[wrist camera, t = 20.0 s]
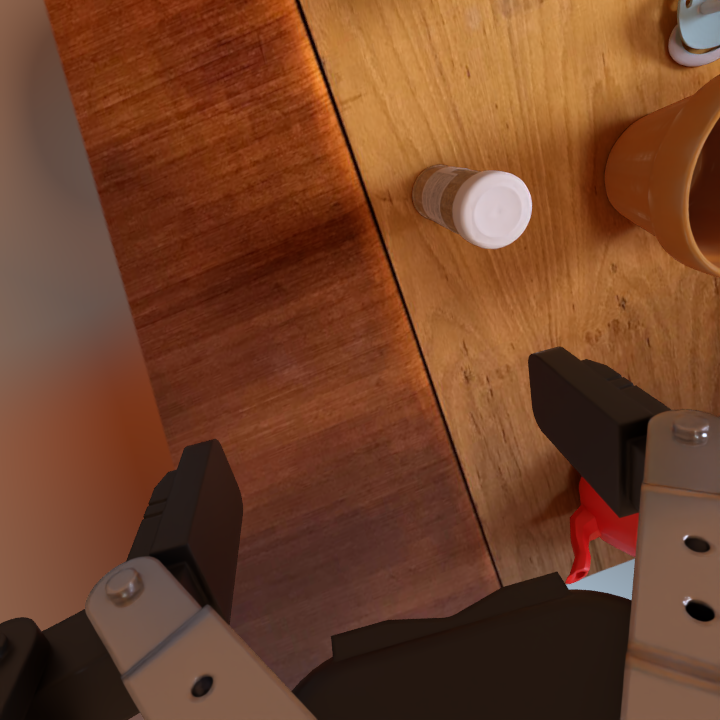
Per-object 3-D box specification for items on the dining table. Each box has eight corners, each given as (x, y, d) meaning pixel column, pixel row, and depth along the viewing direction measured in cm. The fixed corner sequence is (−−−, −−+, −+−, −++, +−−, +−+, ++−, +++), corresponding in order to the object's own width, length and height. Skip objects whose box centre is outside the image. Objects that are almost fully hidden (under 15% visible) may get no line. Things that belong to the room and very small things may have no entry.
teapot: (714, 368, 53) (826, 427, 42) (733, 470, 59) (835, 545, 48) (502, 471, 55) (557, 554, 44) (543, 560, 61) (600, 652, 50)
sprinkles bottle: (472, 182, 42) (549, 197, 30) (443, 230, 43) (505, 263, 31) (428, 152, 40) (490, 156, 28) (399, 203, 42) (446, 227, 30)
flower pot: (718, 42, 40) (899, -1, 28) (735, 207, 46) (890, 228, 34) (557, 121, 41) (667, 111, 29) (594, 273, 47) (698, 316, 35)
